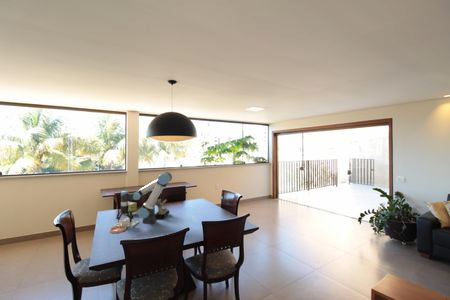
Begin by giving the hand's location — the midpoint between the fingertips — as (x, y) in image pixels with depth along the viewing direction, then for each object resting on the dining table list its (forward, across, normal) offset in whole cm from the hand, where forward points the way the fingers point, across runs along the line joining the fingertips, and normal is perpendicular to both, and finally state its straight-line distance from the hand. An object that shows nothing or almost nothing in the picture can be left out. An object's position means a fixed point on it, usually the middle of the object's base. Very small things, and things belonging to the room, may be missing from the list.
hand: (124, 225), depth 229 cm
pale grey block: (0, 0, 0) cm, 0 cm away
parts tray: (+1, 0, -4) cm, 4 cm away
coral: (+1, -24, -36) cm, 44 cm away
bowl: (+1, 0, +12) cm, 13 cm away
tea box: (+1, +16, -42) cm, 46 cm away
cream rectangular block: (0, 0, -7) cm, 7 cm away
